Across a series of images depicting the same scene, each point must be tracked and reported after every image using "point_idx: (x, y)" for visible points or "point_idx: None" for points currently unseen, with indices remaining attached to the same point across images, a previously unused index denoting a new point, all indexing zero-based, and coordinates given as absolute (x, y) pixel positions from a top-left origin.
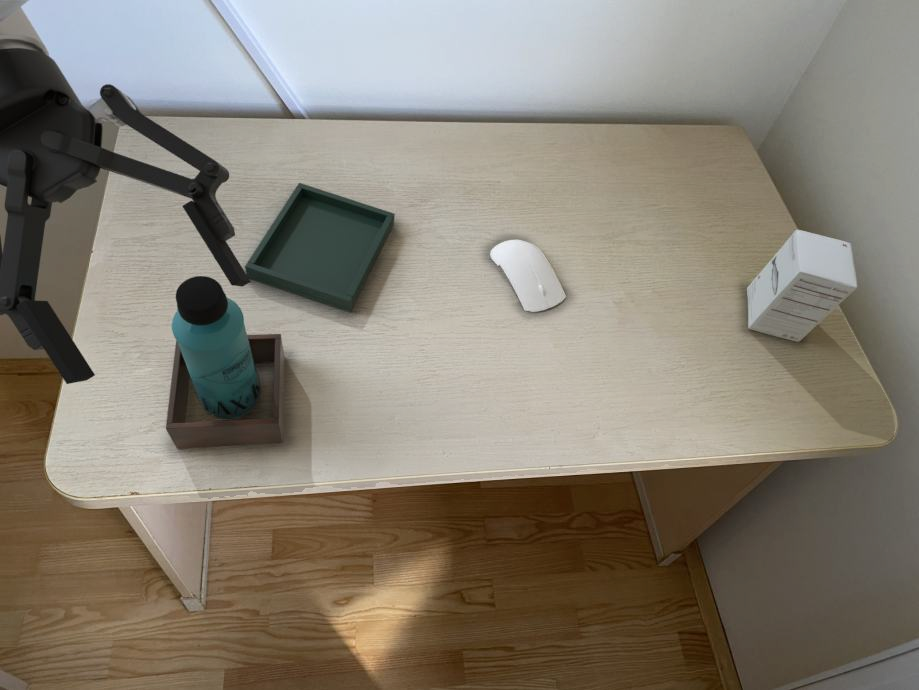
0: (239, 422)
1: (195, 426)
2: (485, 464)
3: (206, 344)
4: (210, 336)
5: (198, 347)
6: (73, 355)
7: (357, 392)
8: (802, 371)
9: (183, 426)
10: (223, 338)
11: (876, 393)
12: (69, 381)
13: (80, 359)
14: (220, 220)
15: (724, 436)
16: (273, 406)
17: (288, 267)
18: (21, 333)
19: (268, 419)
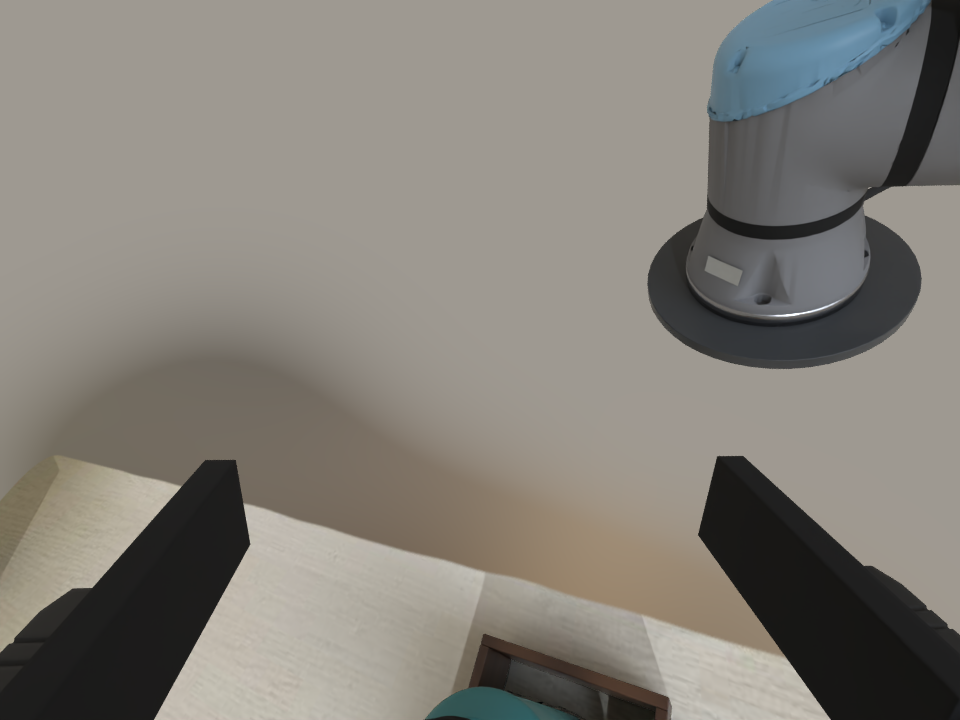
0: (540, 659)
1: (614, 680)
2: (308, 528)
3: (493, 698)
4: (476, 711)
5: (513, 702)
6: (743, 546)
7: (378, 701)
8: (15, 532)
9: (635, 688)
10: (455, 702)
11: (8, 492)
12: (735, 456)
13: (729, 553)
14: (30, 645)
15: (125, 490)
16: (482, 671)
17: None
18: (945, 627)
19: (495, 646)
